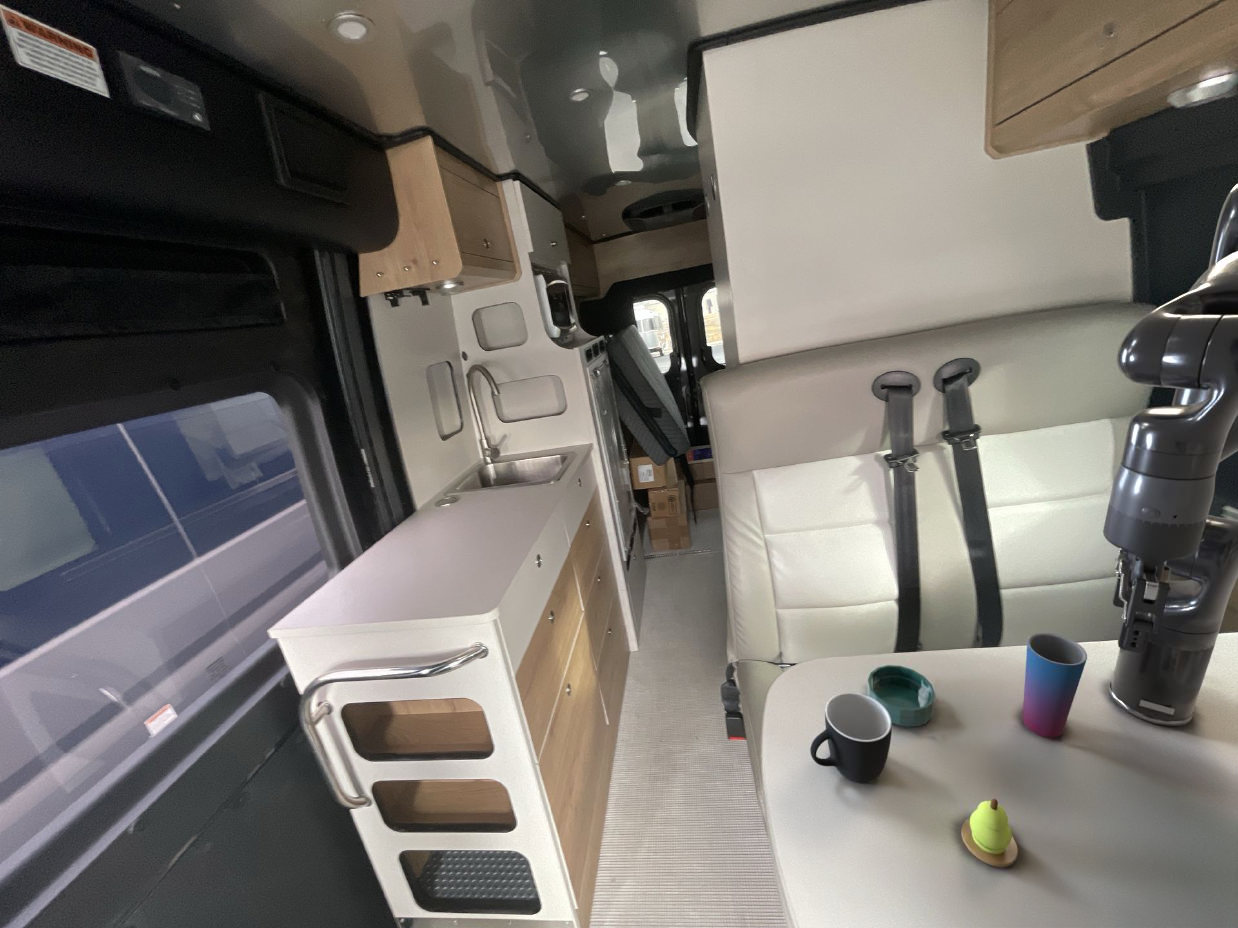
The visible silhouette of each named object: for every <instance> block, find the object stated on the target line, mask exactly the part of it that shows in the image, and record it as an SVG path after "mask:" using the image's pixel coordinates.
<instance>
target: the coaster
mask: <svg viewBox="0 0 1238 928" xmlns="http://www.w3.org/2000/svg"><path fill="white" fill-rule="evenodd" d="M970 818H971V817H969V818H967V819H966V820H964V821H963V823H962V825H961V829H960V830H961V831H960V832H961V838H962V841H963V843H964V845H965V847H966V848H967V850H968V851H969V852H970V853H971V854H972V855H973V856H974V857H976V858H977V859H979V860H980V861H981V862H983V863H985V864H986V865H987V864H988V865H989V866H993V867H997V868H1006V867H1009V866H1012V865H1013V864H1014V863H1015V862H1016V861H1017V859H1018V854H1019V849H1018V845H1017V842H1016V840H1015V838H1014V837H1013V836H1012V838H1011V842H1010V844H1009V845H1008V846H1007V847H1006V848H1005V851H1004V852H1003V853H1001V854H991V853H988V852H986V851H984V850H983V849H981V848H980V847H979V846H978V845H977V844H976V843H975V841H974V839H973V836H972V830H971V827H970Z"/></svg>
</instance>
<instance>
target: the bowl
mask: <svg viewBox="0 0 1238 928" xmlns="http://www.w3.org/2000/svg"><path fill="white" fill-rule="evenodd" d="M866 687H867V691H866V696H869V697H871V698H873V699H875V700H876V701H878V702H879V703H880V704H882V705H883V706H884V707H885V709H886V710H887V711H888V713H889V715H890V717H891V721H892V724H894V725H897V726H900V727H901V726H902V727H911V728H912V727H918V726H921V725H925V724H926V723H928V722H929V721H930V720H931V719H932V718H933V713H934V710H935V709H934V707H935V699H936V698H935V697H936V692H935V690H934V687H933V684H932V683H931V682H930V681H929V679H927V678H926V676H925V675H923V674H921V673H919V672H918V671H916V670H914V669H912V668H909V667H905V666H902V665H892V664H887V665H883V666H878V667H877V668H875V669H873V670H872V671H871V672H870V673H869V675H868V678H867V685H866Z"/></svg>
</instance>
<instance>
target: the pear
mask: <svg viewBox="0 0 1238 928" xmlns="http://www.w3.org/2000/svg"><path fill="white" fill-rule="evenodd" d="M969 818H970V827H971V830H972V836H973V839H974V841H975V843H976V844H977V845H978V846H979V847H980V848H981V849H983V850H984V851H986V852H988V853H991V854H1001V853H1003V852H1004V851H1005V848H1006V847H1007V846H1008V845H1009V844H1010V842H1011V838H1012V837H1013V833H1012V829H1011V826H1010V825H1009V817H1008V813H1007V812H1006V810H1005V809H1004V808H1003V807H1002V806H1001V805H1000V804H999V801H998V799H997V798H994V797H993V798H991V800H984V801H981V802H980V803H979V804H978V806H977V808H976V809H975V810H974V811H973V812H972V813H971V815H970V817H969Z"/></svg>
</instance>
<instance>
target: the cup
mask: <svg viewBox="0 0 1238 928" xmlns="http://www.w3.org/2000/svg"><path fill="white" fill-rule="evenodd" d="M1025 656H1026V657H1025V673H1024V687H1023V699H1022V700H1023V701H1022V714H1021V716H1022V717H1021V718H1022V723H1023V724H1024V725H1025V727H1026V728H1027V729H1029V731H1031V732H1033V733H1034V734H1036V735H1038V736H1041V737H1045V738H1049V739H1050V738H1053V739H1054V738H1059V737H1061V735H1063V733H1064V730H1065V727H1066V724H1067V721H1068V718H1069V714H1070V712H1071V708H1072V706H1073V702H1074V700H1075V696H1076V693H1077V691H1078V688H1079V685H1080V681H1081V678H1082V675H1083V672H1084V669H1085V666H1086V663H1087V660H1088V654H1087V651H1086V650H1085V648H1084V647H1083V646H1082V645H1081V644H1080V643H1078V642H1076V641H1075V640H1073V639H1071V638H1069V637H1067V636H1063V635H1061V634H1058V633H1051V632H1037V633H1034V634H1032V635H1030V636H1029V637H1028V638H1027V643H1026V655H1025Z"/></svg>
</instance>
